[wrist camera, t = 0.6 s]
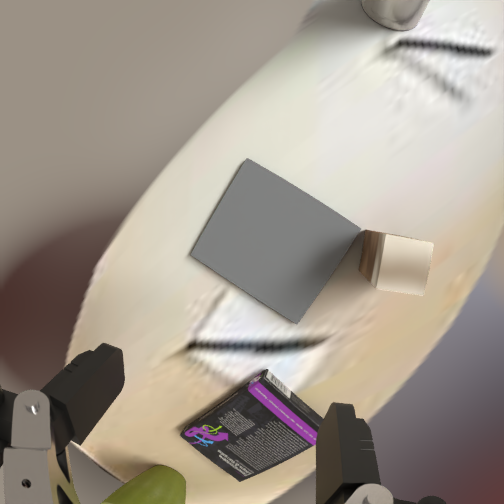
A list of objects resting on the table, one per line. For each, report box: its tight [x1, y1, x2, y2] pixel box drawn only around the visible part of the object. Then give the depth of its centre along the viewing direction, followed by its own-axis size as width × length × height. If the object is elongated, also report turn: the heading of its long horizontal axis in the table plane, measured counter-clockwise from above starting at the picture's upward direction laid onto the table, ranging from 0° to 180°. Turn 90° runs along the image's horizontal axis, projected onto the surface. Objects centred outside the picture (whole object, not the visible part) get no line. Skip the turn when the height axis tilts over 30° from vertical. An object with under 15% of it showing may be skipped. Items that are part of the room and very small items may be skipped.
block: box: [359, 230, 434, 296], centre depth 29 cm, size 5×5×10 cm
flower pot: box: [101, 465, 186, 504], centre depth 38 cm, size 15×15×16 cm
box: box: [180, 369, 324, 482], centre depth 39 cm, size 14×4×20 cm
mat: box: [191, 158, 361, 324], centre depth 36 cm, size 14×16×1 cm
